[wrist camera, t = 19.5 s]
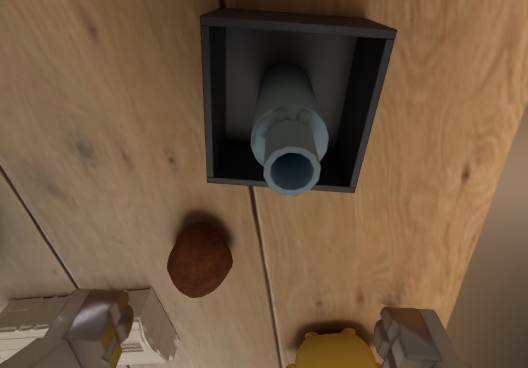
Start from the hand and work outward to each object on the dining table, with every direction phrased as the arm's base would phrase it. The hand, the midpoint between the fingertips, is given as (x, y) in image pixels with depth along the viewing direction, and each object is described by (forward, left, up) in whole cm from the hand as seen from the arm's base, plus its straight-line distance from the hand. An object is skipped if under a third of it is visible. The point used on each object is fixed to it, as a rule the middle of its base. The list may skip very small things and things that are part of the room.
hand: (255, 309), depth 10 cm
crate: (0, +2, -26) cm, 26 cm away
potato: (+22, -7, -26) cm, 35 cm away
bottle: (0, +2, -25) cm, 25 cm away
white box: (+42, -26, -26) cm, 56 cm away
